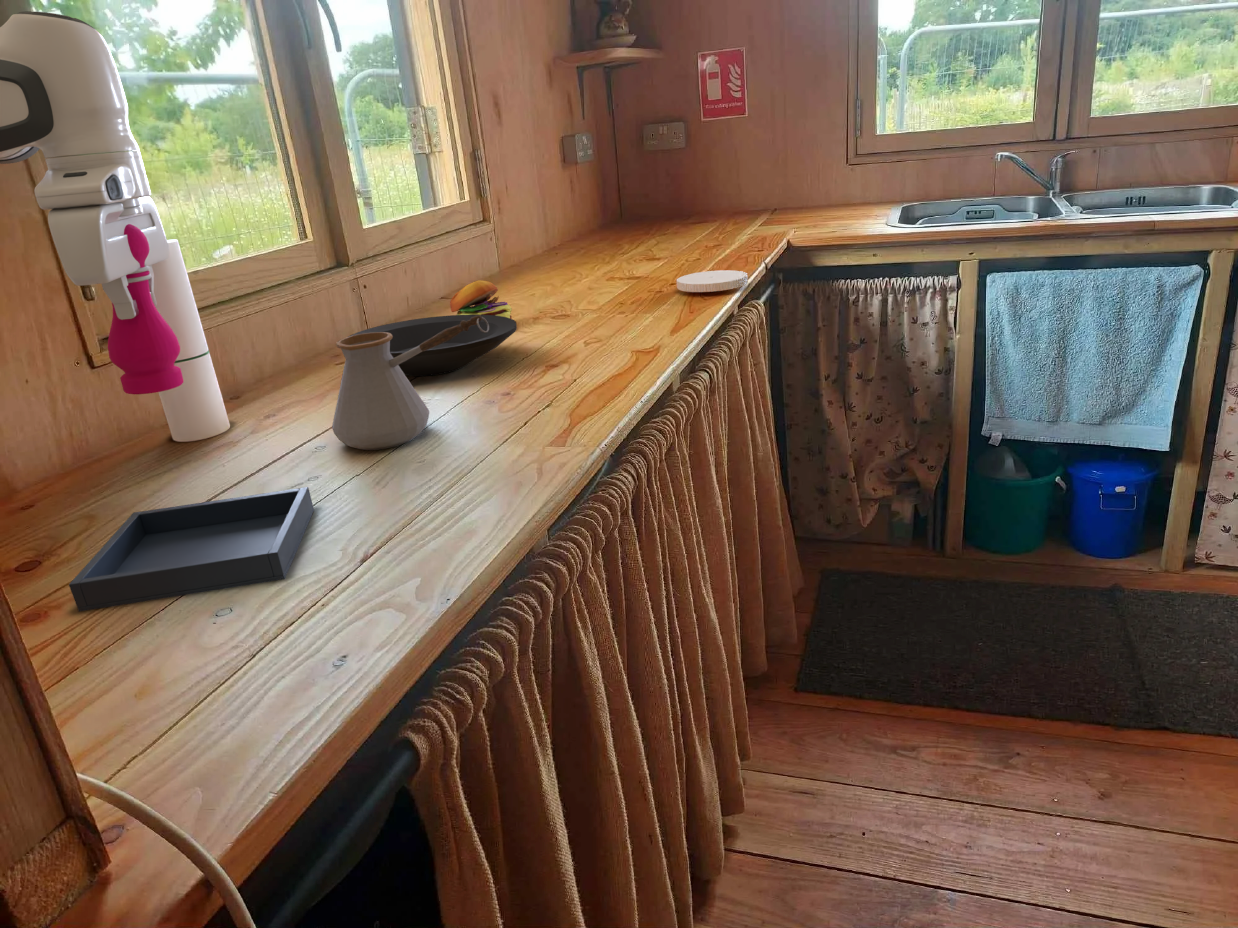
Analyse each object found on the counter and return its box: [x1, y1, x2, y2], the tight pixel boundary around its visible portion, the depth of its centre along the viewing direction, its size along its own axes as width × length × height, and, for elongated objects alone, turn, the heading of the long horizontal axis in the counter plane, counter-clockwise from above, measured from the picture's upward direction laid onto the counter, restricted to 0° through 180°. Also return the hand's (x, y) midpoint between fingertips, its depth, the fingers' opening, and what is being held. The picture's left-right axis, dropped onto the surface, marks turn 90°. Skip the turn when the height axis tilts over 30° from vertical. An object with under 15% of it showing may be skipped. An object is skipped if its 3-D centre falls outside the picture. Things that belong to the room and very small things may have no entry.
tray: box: [68, 486, 315, 612], centre depth 79 cm, size 17×15×3 cm
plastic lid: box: [675, 269, 748, 293], centre depth 173 cm, size 14×14×2 cm
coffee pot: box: [331, 315, 489, 451], centre depth 102 cm, size 21×12×15 cm, turn 76°
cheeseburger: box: [449, 279, 513, 319], centre depth 159 cm, size 10×11×10 cm
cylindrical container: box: [151, 239, 231, 443], centre depth 112 cm, size 7×7×25 cm
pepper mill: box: [107, 224, 184, 395], centre depth 97 cm, size 7×7×20 cm
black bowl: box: [345, 314, 518, 377], centre depth 137 cm, size 28×24×6 cm
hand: (138, 313), depth 97 cm, fingers closed on pepper mill, 4 cm apart
